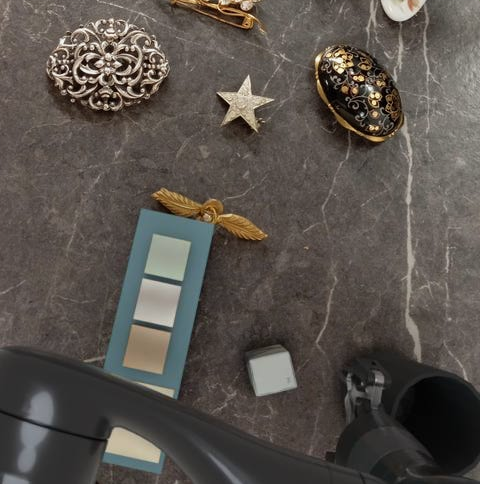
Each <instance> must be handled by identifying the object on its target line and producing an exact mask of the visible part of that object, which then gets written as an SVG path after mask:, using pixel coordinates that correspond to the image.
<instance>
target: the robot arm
mask: <svg viewBox="0 0 480 484" xmlns="http://www.w3.org/2000/svg"><path fill="white" fill-rule="evenodd" d="M350 365H351V366H350ZM350 365H344V366H343V369H338V375H337V377H338V378H339V380H341V381H343V382H344V383H345V384H346V385H347V389H348V393H347V395H346V397H345V400H344V401H345V408H344V410H345V409H346V411H345V415H346V420H345V423H344V426H345V427H344V429H343V430H342V431H341V433H340V435H339V437H338V439H337V442H336V445H335V451H331V450H326V451H325V455H324V459H323V458H320V457H316V456H313V455H309V454H306V453H304V452H300V451H297V450H294V449H291V448H288V447H285V446H283V445H280V444H278V443H274V442H272V441H270V440H267V439H265V438H263V437H260V436H258V435H255V434H253V433H251V432H248V431H246V430H245V429H242V428H240V427H237V426H235V425H233V424H231V423H229V422H227V421H225V420H223V419H221V418H219V417H217V416H215V415H213V414H210V413H208V412H206V411H204V410H202V409H200V408H197V407H195V406H193V405H192V404H191V405H190V404H188V403H186V402H183V401H181V400H179V399H178V398H177V399H174V398H172V397H170V396H167V395H165V394H163V393H160V392H158V391H156V390H153V389H151V388H149V387H146V386H144V385H141V384H139V383H137V382H134V381H132V380H130V379H127V378H125V377H122V376H120V375H117V374H115V373H112V372H110V371H107V370H105V369H103V367H100V366H97V365H95V364H92V363H90V362H87V361H84V360H81V359H78V358H76V357H73V356H71V355H66V354H63V353H60V352H56V351H53V350H49V349H45V348H40V347H35V346H30V345H16V344H15V345H14V344H13V345H5V346H3V347H0V484H96V482H97V479H98V476H99V473H100V470H101V467H102V463H103V462H102V461H103V458H104V455H105V451H106V448H107V445H108V442H109V440H108V439H109V438H110V436H111V433H112V431H113V429H114V428H122V429H125V430H127V431H130V432H132V433H134V434H136V435H138V436H140V437H142V438H143V439H145V440H147V441H148V442H150V443H152V444H153V445H154V446H156V447H157V448H158V449H160V450H161V451H162V452H163V453H165V456H167V457H168V459H170V460H171V461H172V462H173V463H174V464H175V466H177V468H179V469H180V471H181V472H182V473H183V474H184V475H185V476H186V477H187V478H188V479H189V481H190V482H191V483H192V484H480V480H477V479H473V478H470V477H466V476H462V477H461V476H456V475H450V474H448V473H446V472H445V471H444V470H443V469H442V468H441V467H440V466H439V465H438V464H437V463H436V462H435V461H434V459H433V458H432V456H431V454H430V453H429V452H428V451H427V449H426V448H425V447H424V446H423V445H422V444H421V443H420V442H419V441H418V440H417V439H416V438H415V437H414V436H413V435H412V434H411V433H410V432H409V431H408V430H407V429H406V428H405V427H404V426H403V425H402V422H400V421H399V420H397V419H396V418H395V419H394V418H393V417H391V416H390V415H388V414H386V412H385V408H384V405H383V404H382V403H381V394H382V389H385V388H390V387H391V384H392V378H391V376H390V375H389V374H388V372H387V371H386V370H385V369H384V368H383V367H382V366H381V365H380V364H379V363H378V362H377V361H376V360H371V359H364V358H359V357H356V356H353V357H351V360H350ZM356 387H362V388H365V390H366V392H361V391H358V390H357V389H356ZM354 405H359V406H358V407H357V408H356V409H355V406H354Z"/></svg>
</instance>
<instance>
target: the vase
mask: <svg viewBox="0 0 480 484" xmlns="http://www.w3.org/2000/svg"><path fill="white" fill-rule="evenodd" d="M358 358H364V359H371V360H376V361H377V362H378V363H379V364H380V365H381V366H382V367H383V368H384V369H385V370H386V371H387V372H388V374H389V375H390V376H391V378H392V384H391V387H390V388H385V389H382V394H381V403H382V404H383V405H384V408H385V412H386V414H388V415H390V416H391V417H393V418H394V419H396V415H397V411H398V408H399V405H400V402H401V399H402V398H403V397H404V395H405V394H406V393H407V392H408V390H409V388H410V387H412V386H414V402H413V406H412V409H411V411H410V413H409V414H408V416H407V417H406V418H405V419H404V421H403V422H401V424H402V425H403V426H404V427H405V428H406V429H407V430H408V431H409V432H410V433H411V434H412V435H413V436H414V437H415V438H416V439H417V440H418V441H419V442H420V443H421V444H422V445H423V446H424V447H425V448H426V449H427V451H428V452H429V453H430V454H431V456H432V458H433V459H434V461H435V462H436V463H437V464H438V465H439V466H440V467H441V468H442V469H443V470H444V471H445V472H446V473H448V474H450V475H456V476H461V477H464V476H465V475H466V474H468V473H470V472H471V471H473V470H474V469H476V468H477V466H478V465H479V463H480V392H479V391H478V390H477V389H476V387H475V386H474V385H473V383H472V382H469V381H468V380H466V379H465V378H463V377H462V376H460V375H458V374H456V373H454V372H451V371H448V370H444V369H441V368H438V367H435V366H432V365H430V364H429V365H428V364H425V363H422V362H419V361H415V360H413V359H409V358H406V357H403V356H400V355H396V354H394V353H389V352H384V351H379V350H378V351H372V352H367V353H364V354H362V355H361V356H360V357H358ZM349 366H351V364H350V365H349ZM341 381H342V380H341ZM356 389H357V390H358V391H361V392H366V390H365V388H362V387H356ZM340 393H341V394H340V395H341V396H340V398H341V402H342V406H343V408H344V411H345V412H346V409H345V401H344V400H345V397H346V395H347V393H348V389H347V385H346V384H345V383H344V382H343V381H342V382H341V385H340ZM354 406H355V409H356V408H357V407H358V406H359V405H354Z"/></svg>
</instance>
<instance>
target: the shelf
mask: <svg viewBox="0 0 480 484" xmlns="http://www.w3.org/2000/svg"><path fill="white" fill-rule="evenodd" d="M215 225H216V224H215V223H212V222H207V221H202V220H198V219H194V218H189V217H184V216H180V215H175V214H169V213H165V212H161V211H157V210H152V209H148V208H144V207H141V208H140V212H139V215H138V220H137V224H136V229H135V232H134V237H133V241H132V246H131V250H130V255H129V258H128V262H127V265H126V266H127V267H126V270H125V275H124V278H123V283H122V287H121V291H120V295H119V300H118V303H117V309H116V313H115V317H114V321H113V326H112V329H111V333H110V338H109V343H108V346H107V351H106V355H105V359H104V362H103V363H104V364H103V367H102V369H105V370H107V371H110V372H112V373H115V374H117V375H120V376H122V377H125V378H127V379H130V380H132V381H137V382H141V383H146V384H150V385H155V386H160V387H164V388H169V389H173V390H174V394H173V398H174V399H177V400H178V398H179V393H180V389H181V384H182V379H183V375H184V370H185V367H186V366H185V365H186V362H187V356H188V351H189V347H190V342H191V337H192V334H193V333H192V332H193V328H194V325H195V319H196V315H197V309H198V306H199V305H198V304H199V299H200V296H201V295H200V294H201V291H202V286H203V282H204V277H205V272H206V269H207V264H208V259H209V254H210V249H211V244H212V239H213V235H214V230H215V227H216V226H215ZM153 233H154V234H159V235H164V236H168V237H173V238H177V239H182V240H186V241H191V247H190V252H189V257H188V261H187V266H186V270H185V275H184V279H183V282H181V281H177V280H172V279H167V278H163V277H158V276H154V275H149V274H145V273H144V270H145V265H146V261H147V257H148V253H149V248H150V244H151V240H152V235H153ZM143 278H145V279H149V280H154V281H158V282H163V283H168V284H172V285H177V286H181V287H182V288H181V293H180V297H179V302H178V306H177V311H176V316H175V320H174V325H173V327H168V326H163V325H159V324H154V323H150V322H145V321H140V320H136V319H133V317H134V313H135V309H136V304H137V300H138V296H139V291H140V287H141V283H142V279H143ZM133 323H138V324H142V325H147V326H151V327H156V328H161V329H165V330H170V331H172V334H171V338H170V343H169V347H168V352H167V356H166V361H165V365H164V370H163V374H162V375H161V374H157V373H152V372H148V371H143V370H138V369H134V368H129V367H125V366H122V365H123V360H124V356H125V352H126V347H127V343H128V339H129V334H130V330H131V326H132V324H133ZM165 458H166V454H165V453H163V452H162V451H161V454H160V458H159V463H155V462H150V461H145V460H141V459H136V458H132V457H127V456H122V455H118V454H113V453H109V452H105V455H104V458H103V461H102V463H104V464H105V463H106V464H110V465H115V466H120V467H123V468H124V467H125V468H129V469H134V470H139V471H142V472H148V473H152V474H157V475H162V473H163V472H162V471H163V468H164V464H165Z"/></svg>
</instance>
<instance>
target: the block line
mask: <svg viewBox="0 0 480 484" xmlns="http://www.w3.org/2000/svg"><path fill="white" fill-rule="evenodd" d="M190 247H191V241H186V240H182V239H177V238H173V237H168V236H164V235H159V234H154V233H153V235H152V240H151V244H150V248H149V253H148V257H147V261H146V265H145V270H144V273H145V274H149V275H154V276H158V277H163V278H167V279H172V280H177V281H181V282H183V279H184V275H185V270H186V266H187V261H188V257H189V252H190ZM181 288H182V287H181V286H177V285H172V284H168V283H163V282H158V281H154V280H149V279H145V278H143V279H142V283H141V287H140V291H139V296H138V300H137V304H136V309H135V313H134V317H133V319H136V320H140V321H145V322H150V323H154V324H159V325H163V326H168V327H173V325H174V320H175V316H176V311H177V306H178V302H179V297H180V293H181ZM171 334H172V331H170V330H165V329H161V328H156V327H151V326H147V325H142V324H138V323H133V324H132V326H131V330H130V334H129V339H128V343H127V347H126V352H125V356H124V360H123V365H122V366H125V367H129V368H134V369H138V370H143V371H148V372H152V373H157V374H161V375H162V374H163V370H164V365H165V361H166V356H167V352H168V347H169V343H170V338H171ZM134 382H137V381H134ZM137 383H139V384H141V385H144V386H146V387H149V388H151V389H153V390H156V391H158V392H160V393H163V394H165V395H167V396H170V397H172V398H173V394H174V390H173V389H169V388H164V387H160V386H155V385H150V384H146V383H141V382H137ZM108 440H109V442H108V445H107V448H106V451H105V452H109V453H113V454H118V455H122V456H127V457H132V458H136V459H141V460H145V461H150V462H155V463H159V458H160V454H161V450H160V449H158V448H157V447H156V446H154V445H153V444H152V443H150V442H148V441H147V440H145V439H143V438H142V437H140V436H138V435H136V434H134V433H132V432H130V431H127V430H125V429H122V428H114V429H113V431H112V433H111V436H110V438H109V439H108Z"/></svg>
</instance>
